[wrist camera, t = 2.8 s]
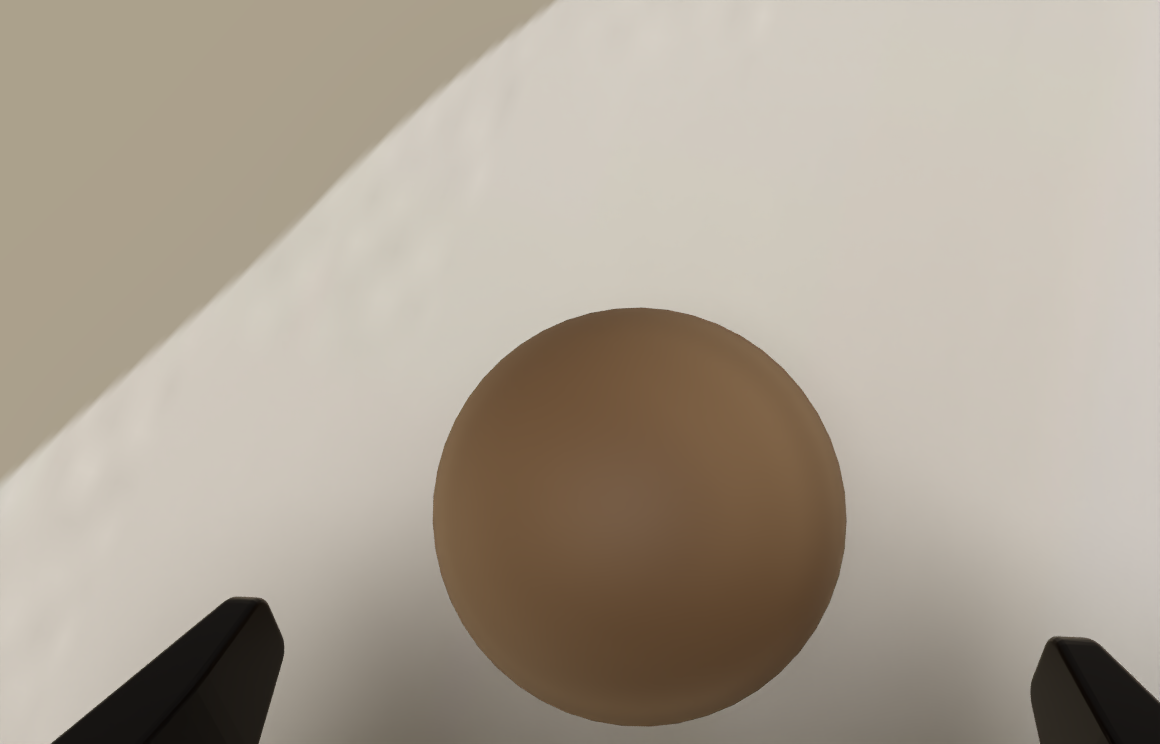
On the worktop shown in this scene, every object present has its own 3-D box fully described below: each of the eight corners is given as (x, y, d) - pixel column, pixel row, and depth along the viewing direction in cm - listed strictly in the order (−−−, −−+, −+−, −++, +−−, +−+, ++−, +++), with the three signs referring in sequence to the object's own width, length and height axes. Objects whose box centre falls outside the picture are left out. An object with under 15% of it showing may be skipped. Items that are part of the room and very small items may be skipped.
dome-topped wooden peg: (637, 672, 18) (544, 900, 7) (519, 490, 19) (279, 437, 8) (817, 547, 18) (1011, 577, 7) (689, 372, 19) (680, 157, 8)
